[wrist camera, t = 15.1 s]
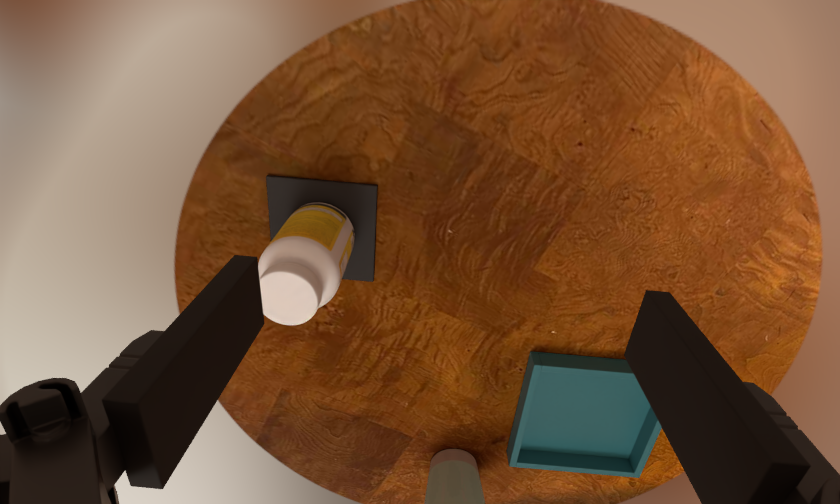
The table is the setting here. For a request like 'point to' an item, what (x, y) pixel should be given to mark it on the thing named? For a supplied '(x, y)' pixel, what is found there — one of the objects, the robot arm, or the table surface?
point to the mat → (342, 195)
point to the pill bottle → (305, 263)
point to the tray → (582, 417)
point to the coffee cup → (454, 479)
